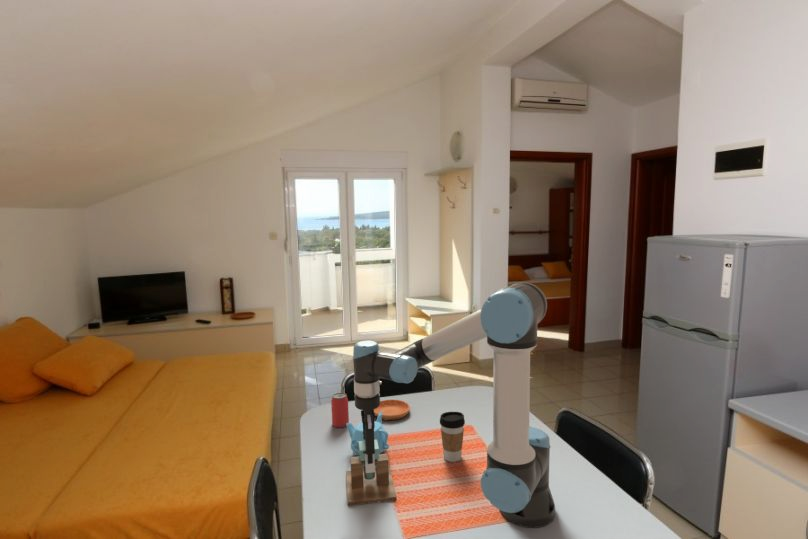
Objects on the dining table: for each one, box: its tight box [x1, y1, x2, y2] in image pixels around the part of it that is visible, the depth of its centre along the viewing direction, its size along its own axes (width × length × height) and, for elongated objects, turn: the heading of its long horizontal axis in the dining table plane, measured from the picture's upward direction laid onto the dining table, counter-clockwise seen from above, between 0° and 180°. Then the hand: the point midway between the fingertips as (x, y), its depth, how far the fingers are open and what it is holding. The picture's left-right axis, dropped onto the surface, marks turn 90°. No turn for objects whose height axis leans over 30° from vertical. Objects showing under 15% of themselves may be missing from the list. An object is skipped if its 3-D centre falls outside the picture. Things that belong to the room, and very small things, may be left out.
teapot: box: [345, 412, 390, 457], centre depth 156 cm, size 15×14×11 cm
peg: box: [359, 440, 379, 480], centre depth 136 cm, size 6×6×10 cm
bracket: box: [345, 453, 398, 506], centre depth 136 cm, size 16×14×9 cm
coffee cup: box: [439, 411, 466, 463], centre depth 151 cm, size 8×8×15 cm
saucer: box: [374, 399, 411, 421], centre depth 187 cm, size 16×16×3 cm
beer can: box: [330, 392, 350, 428], centre depth 177 cm, size 7×7×12 cm
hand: (369, 466), depth 136 cm, fingers closed on peg, 6 cm apart
